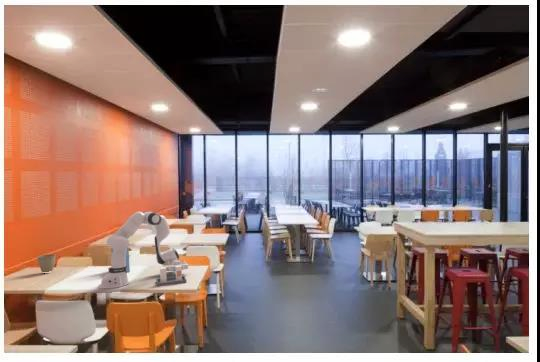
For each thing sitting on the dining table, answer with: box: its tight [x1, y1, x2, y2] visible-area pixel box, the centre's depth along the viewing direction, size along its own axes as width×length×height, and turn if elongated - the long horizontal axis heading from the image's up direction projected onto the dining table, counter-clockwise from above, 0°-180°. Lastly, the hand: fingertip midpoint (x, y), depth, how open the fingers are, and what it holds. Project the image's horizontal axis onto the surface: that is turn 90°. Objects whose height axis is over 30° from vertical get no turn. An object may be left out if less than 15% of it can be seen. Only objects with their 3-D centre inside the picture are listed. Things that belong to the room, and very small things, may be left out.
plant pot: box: [37, 253, 57, 273], centre depth 357 cm, size 15×15×16 cm
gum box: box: [110, 247, 131, 273], centre depth 352 cm, size 19×5×23 cm, turn 56°
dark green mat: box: [157, 273, 176, 279], centre depth 323 cm, size 16×14×1 cm
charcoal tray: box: [155, 275, 187, 287], centre depth 307 cm, size 22×14×2 cm, turn 110°
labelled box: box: [174, 265, 183, 281], centre depth 309 cm, size 4×5×12 cm
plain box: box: [159, 266, 167, 283], centre depth 305 cm, size 4×4×12 cm
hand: (177, 269), depth 321 cm, fingers open, 8 cm apart
